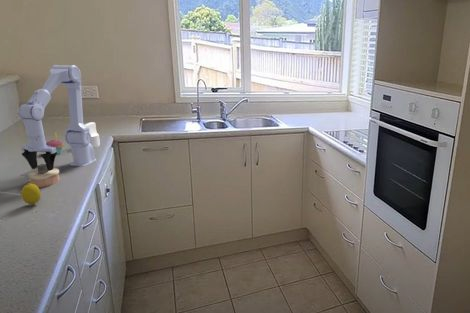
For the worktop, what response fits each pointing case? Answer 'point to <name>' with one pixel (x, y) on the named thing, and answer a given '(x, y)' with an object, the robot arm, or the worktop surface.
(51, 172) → the lid
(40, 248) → the worktop surface
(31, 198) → the lemon
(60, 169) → the mat
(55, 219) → the worktop surface
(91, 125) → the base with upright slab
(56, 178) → the bowl
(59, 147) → the cupcake
